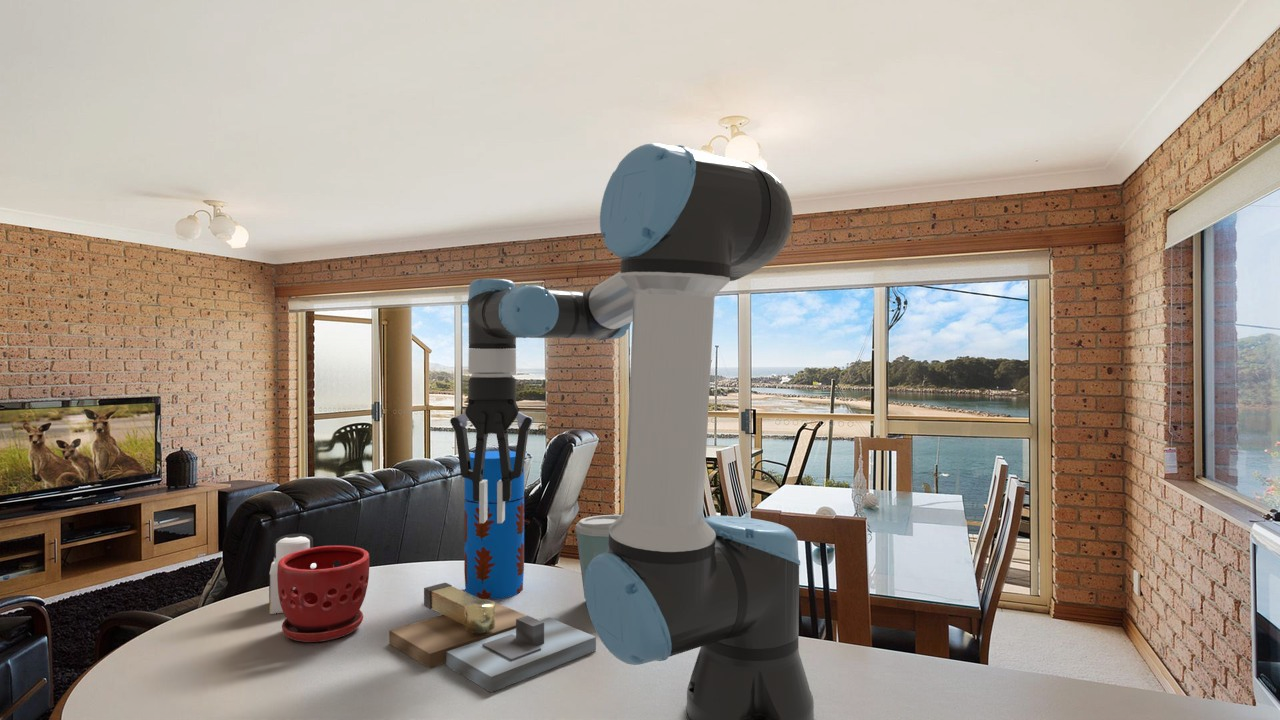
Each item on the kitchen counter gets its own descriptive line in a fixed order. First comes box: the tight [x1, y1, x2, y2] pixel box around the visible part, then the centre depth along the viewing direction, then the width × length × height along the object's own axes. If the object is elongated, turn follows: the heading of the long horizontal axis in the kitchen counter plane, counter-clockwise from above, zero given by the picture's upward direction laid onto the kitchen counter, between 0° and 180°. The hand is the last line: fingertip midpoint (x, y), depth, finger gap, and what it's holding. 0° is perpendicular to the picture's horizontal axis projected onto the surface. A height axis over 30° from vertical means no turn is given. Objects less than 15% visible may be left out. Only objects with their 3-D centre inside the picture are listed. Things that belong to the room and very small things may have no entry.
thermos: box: [463, 450, 525, 600], centre depth 129 cm, size 11×11×25 cm
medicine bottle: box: [268, 533, 317, 615], centre depth 121 cm, size 7×7×12 cm
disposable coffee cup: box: [574, 514, 622, 600], centre depth 122 cm, size 11×11×15 cm
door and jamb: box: [388, 601, 597, 693], centre depth 103 cm, size 24×20×5 cm
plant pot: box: [277, 545, 370, 643], centre depth 109 cm, size 13×13×12 cm
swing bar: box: [423, 582, 496, 633], centre depth 107 cm, size 15×4×3 cm, turn 46°
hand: (492, 521), depth 113 cm, fingers open, 2 cm apart
